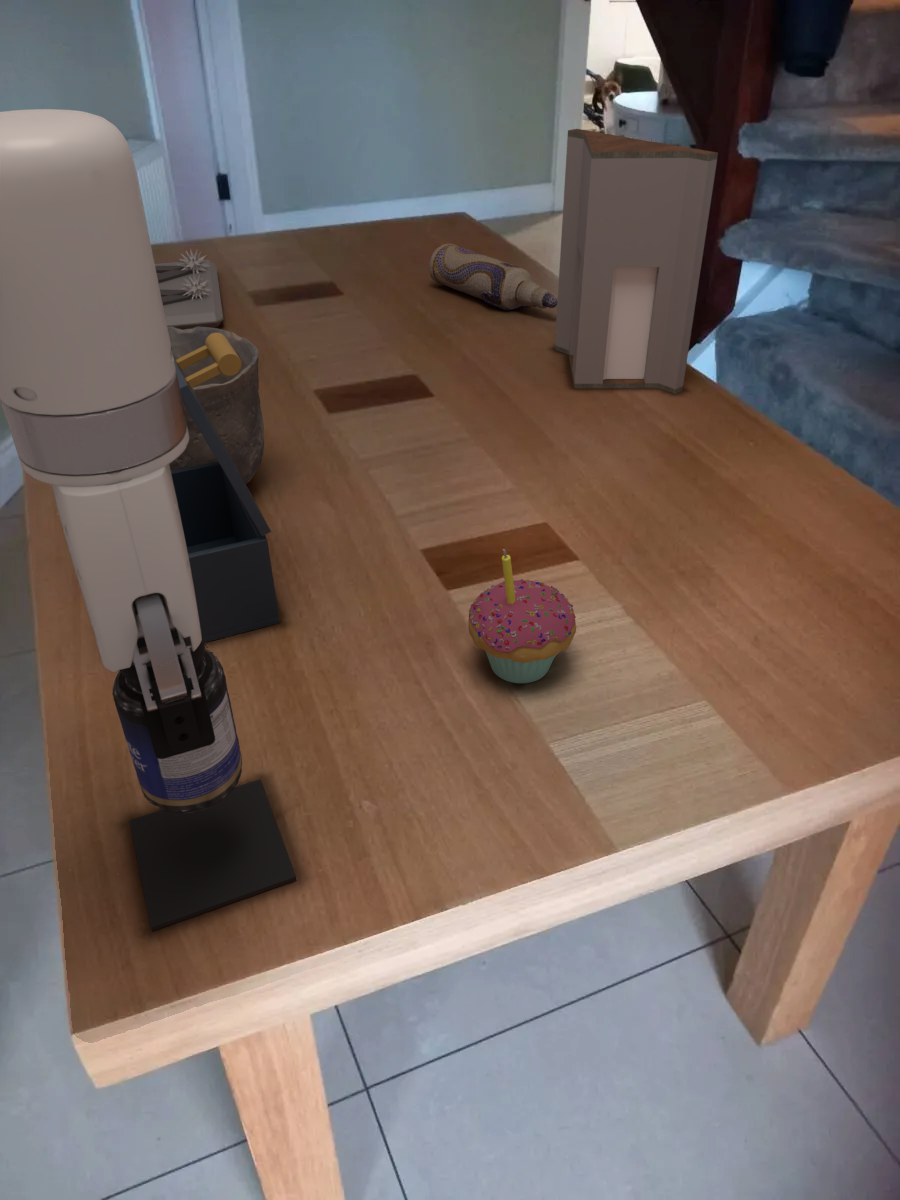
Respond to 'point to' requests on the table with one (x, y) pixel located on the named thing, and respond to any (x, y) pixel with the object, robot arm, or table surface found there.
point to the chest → (224, 554)
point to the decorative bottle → (487, 279)
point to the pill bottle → (193, 773)
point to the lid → (228, 366)
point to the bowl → (223, 403)
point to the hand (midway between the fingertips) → (174, 706)
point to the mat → (209, 855)
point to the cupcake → (521, 626)
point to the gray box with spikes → (190, 292)
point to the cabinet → (630, 259)
